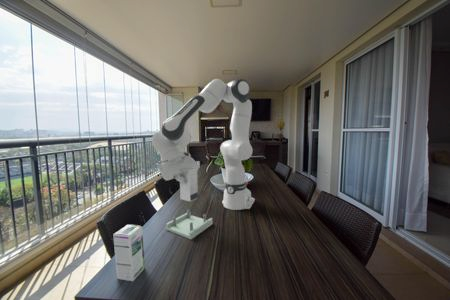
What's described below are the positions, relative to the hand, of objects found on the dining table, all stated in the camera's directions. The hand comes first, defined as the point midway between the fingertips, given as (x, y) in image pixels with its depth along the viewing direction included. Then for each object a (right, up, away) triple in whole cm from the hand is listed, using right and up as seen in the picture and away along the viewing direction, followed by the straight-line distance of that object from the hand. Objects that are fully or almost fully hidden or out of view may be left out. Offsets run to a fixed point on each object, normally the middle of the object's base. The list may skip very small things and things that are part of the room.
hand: (189, 182), depth 84 cm
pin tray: (0, -21, +2) cm, 21 cm away
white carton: (0, -8, +1) cm, 8 cm away
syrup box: (-13, -24, -26) cm, 38 cm away
